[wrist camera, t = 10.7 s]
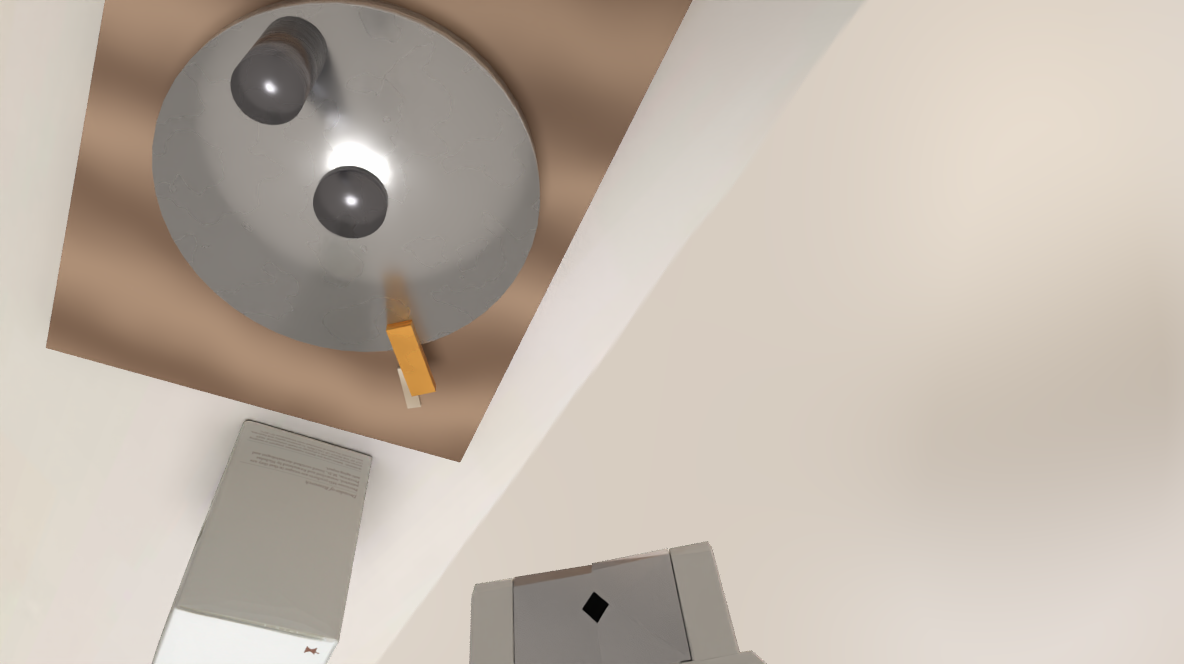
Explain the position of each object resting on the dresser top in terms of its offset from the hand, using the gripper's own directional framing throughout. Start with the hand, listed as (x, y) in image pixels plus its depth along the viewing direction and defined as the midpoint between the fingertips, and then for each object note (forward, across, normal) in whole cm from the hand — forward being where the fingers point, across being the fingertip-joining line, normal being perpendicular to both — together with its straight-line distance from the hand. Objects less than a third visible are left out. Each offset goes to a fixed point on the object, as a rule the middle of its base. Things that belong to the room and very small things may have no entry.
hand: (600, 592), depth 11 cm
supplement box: (+31, +19, +23) cm, 43 cm away
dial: (+29, +9, +7) cm, 31 cm away
